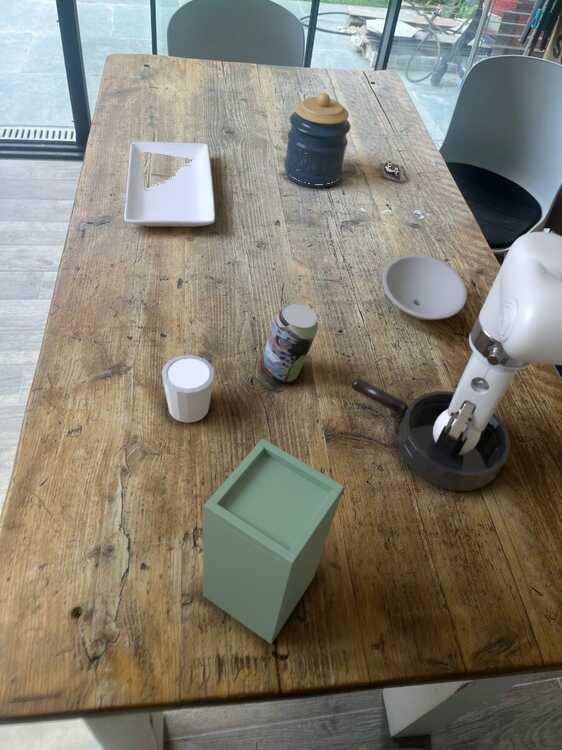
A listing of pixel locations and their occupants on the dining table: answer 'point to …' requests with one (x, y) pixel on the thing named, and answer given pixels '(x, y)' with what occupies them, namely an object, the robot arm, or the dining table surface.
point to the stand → (266, 537)
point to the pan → (439, 465)
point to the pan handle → (379, 396)
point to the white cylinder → (188, 387)
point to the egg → (472, 435)
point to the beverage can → (289, 342)
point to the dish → (424, 287)
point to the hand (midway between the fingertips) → (455, 433)
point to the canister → (317, 141)
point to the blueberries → (392, 175)
